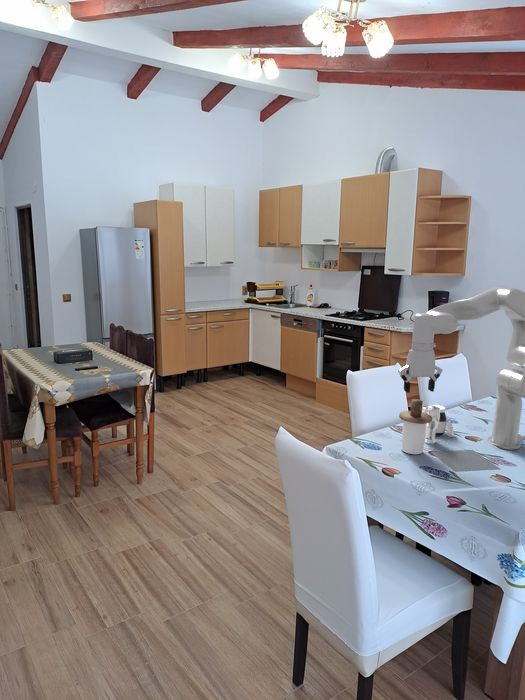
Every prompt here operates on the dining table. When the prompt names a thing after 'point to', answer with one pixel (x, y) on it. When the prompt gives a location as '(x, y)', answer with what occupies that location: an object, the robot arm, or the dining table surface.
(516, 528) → the dining table surface
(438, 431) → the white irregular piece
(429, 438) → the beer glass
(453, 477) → the dining table surface
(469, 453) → the mat
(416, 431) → the cup
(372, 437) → the dining table surface
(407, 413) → the lid
